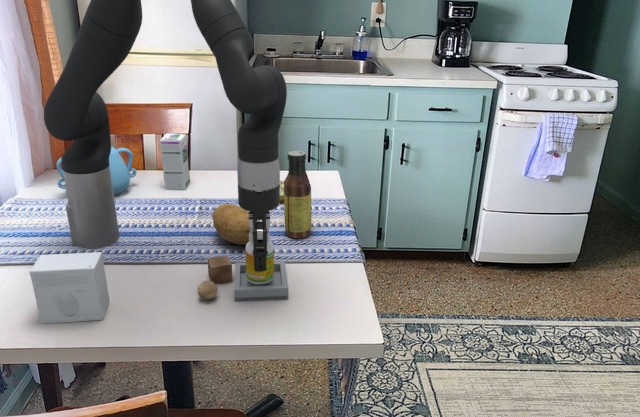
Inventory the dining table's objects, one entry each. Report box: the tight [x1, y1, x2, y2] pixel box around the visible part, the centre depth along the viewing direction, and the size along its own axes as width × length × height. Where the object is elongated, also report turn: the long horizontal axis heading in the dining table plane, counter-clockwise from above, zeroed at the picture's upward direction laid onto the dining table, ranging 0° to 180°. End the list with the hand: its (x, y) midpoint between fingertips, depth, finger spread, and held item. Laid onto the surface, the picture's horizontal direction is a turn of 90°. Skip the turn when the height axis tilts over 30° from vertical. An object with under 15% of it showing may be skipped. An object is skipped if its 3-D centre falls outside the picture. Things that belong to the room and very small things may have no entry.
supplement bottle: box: [245, 231, 275, 284], centre depth 104 cm, size 5×5×10 cm
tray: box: [233, 260, 289, 302], centre depth 106 cm, size 10×10×2 cm
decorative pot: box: [55, 145, 137, 196], centre depth 144 cm, size 16×16×14 cm
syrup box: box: [159, 132, 191, 191], centre depth 149 cm, size 6×6×14 cm
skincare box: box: [29, 251, 111, 325], centre depth 95 cm, size 10×6×10 cm, turn 98°
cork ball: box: [197, 279, 218, 301], centre depth 102 cm, size 4×4×4 cm
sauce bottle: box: [283, 150, 312, 240], centre depth 124 cm, size 6×6×20 cm
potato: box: [211, 203, 250, 245], centre depth 122 cm, size 10×14×8 cm
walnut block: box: [207, 254, 233, 285], centre depth 108 cm, size 4×4×4 cm
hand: (259, 262), depth 105 cm, fingers closed on supplement bottle, 5 cm apart
